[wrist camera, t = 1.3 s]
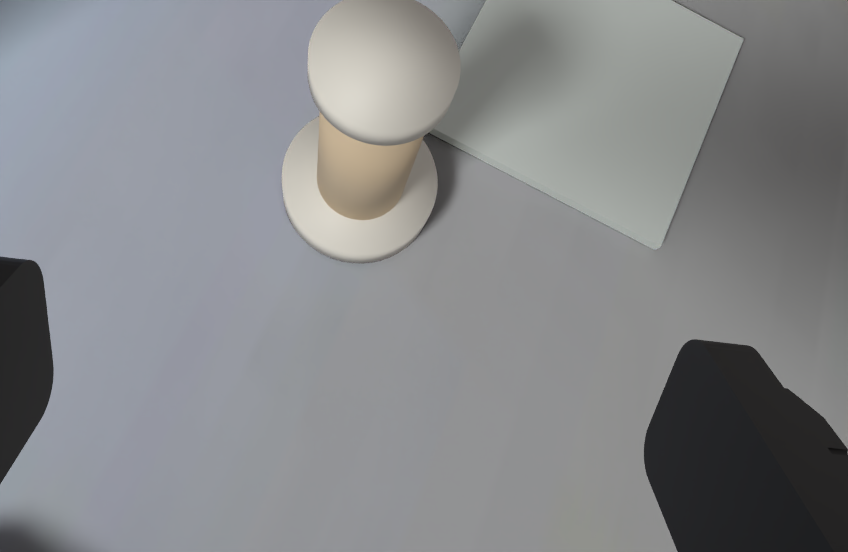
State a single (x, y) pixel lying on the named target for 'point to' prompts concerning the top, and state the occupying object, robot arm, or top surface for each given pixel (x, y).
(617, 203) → the mat
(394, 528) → the top surface
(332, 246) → the stool
